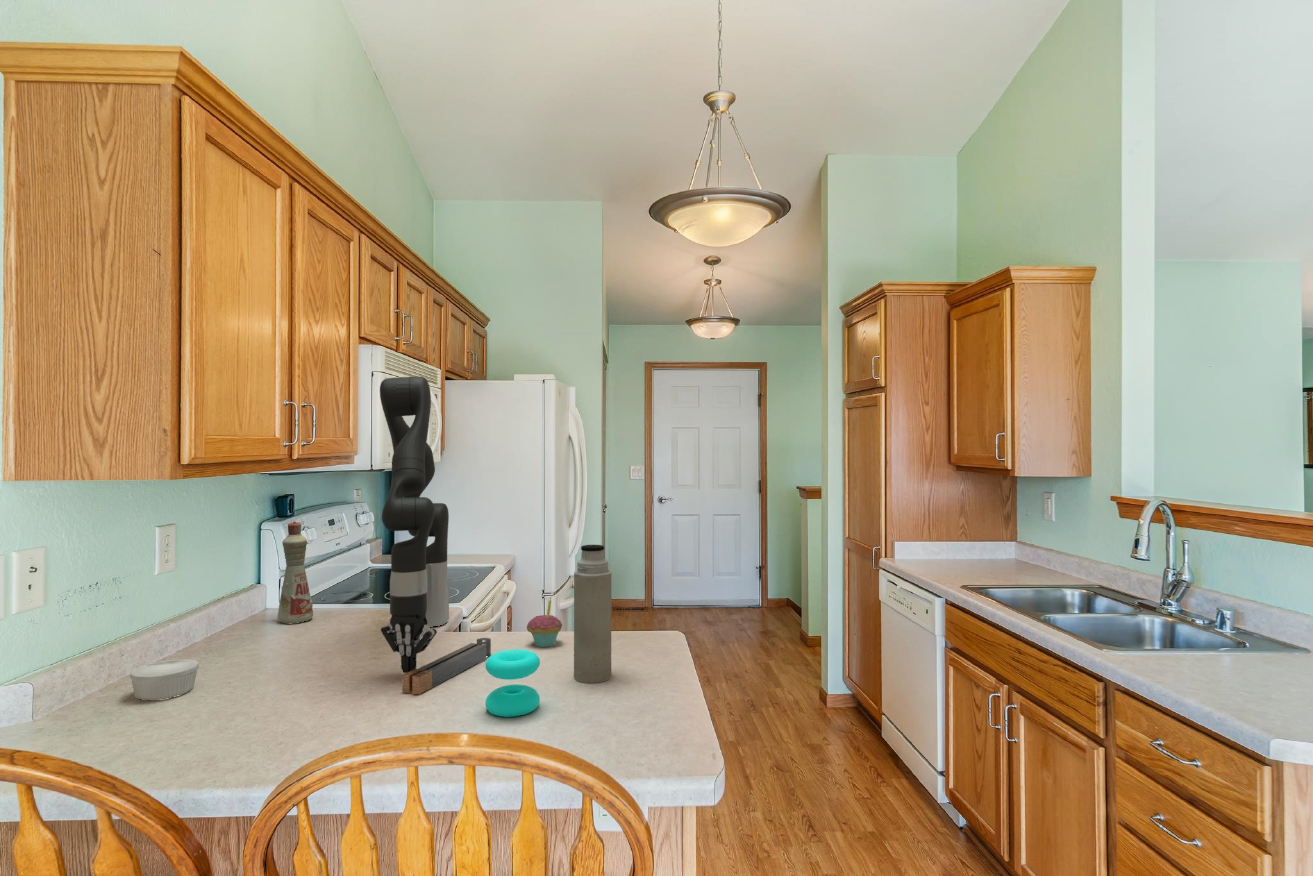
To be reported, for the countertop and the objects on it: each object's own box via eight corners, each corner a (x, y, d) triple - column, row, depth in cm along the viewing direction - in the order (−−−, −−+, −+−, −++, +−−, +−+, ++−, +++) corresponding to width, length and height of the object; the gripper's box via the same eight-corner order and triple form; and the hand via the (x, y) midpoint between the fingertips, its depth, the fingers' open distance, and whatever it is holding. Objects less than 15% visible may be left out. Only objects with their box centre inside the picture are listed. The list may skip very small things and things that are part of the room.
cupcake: (568, 642, 172) (568, 594, 172) (546, 651, 165) (546, 601, 165) (542, 637, 177) (543, 590, 177) (519, 645, 170) (519, 597, 170)
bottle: (290, 616, 198) (290, 519, 199) (319, 617, 198) (320, 519, 198) (270, 624, 190) (270, 522, 190) (301, 625, 189) (301, 522, 189)
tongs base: (481, 653, 164) (481, 637, 164) (494, 654, 162) (494, 638, 162) (404, 693, 137) (404, 674, 137) (419, 695, 136) (419, 676, 136)
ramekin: (192, 679, 146) (192, 654, 146) (204, 693, 138) (204, 667, 138) (125, 693, 138) (125, 666, 138) (134, 708, 130) (134, 680, 130)
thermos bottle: (594, 668, 153) (594, 541, 153) (619, 676, 147) (619, 545, 148) (566, 677, 147) (566, 545, 147) (591, 686, 142) (591, 549, 142)
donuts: (478, 652, 131) (528, 644, 137) (478, 705, 131) (528, 695, 136) (496, 667, 123) (548, 658, 128) (495, 723, 123) (548, 712, 128)
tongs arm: (471, 656, 160) (471, 642, 160) (477, 657, 160) (477, 642, 160) (402, 692, 138) (402, 675, 138) (409, 693, 137) (409, 675, 137)
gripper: (445, 589, 149) (445, 669, 149) (394, 585, 153) (394, 663, 153) (424, 597, 142) (423, 681, 142) (370, 592, 146) (370, 674, 146)
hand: (408, 672), depth 147 cm, fingers closed
